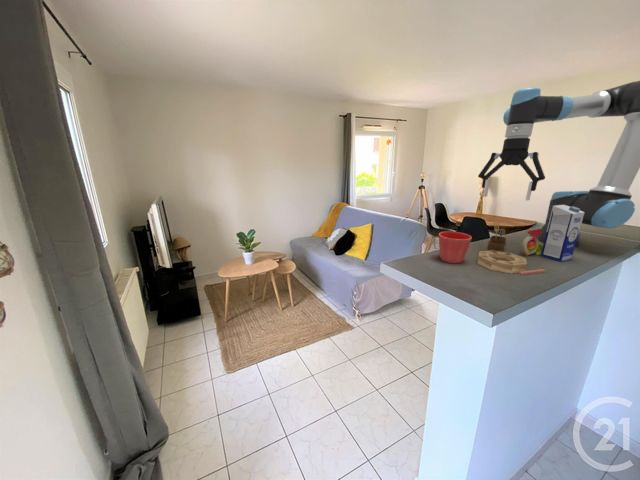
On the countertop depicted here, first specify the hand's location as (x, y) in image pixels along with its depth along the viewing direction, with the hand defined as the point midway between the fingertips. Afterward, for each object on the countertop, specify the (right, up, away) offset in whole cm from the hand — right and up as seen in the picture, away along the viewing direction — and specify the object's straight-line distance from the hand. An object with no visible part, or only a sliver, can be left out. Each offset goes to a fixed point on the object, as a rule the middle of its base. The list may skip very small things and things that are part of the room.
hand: (505, 198), depth 100 cm
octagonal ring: (-5, -25, -5) cm, 26 cm away
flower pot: (-20, -23, +1) cm, 31 cm away
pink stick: (+1, -27, -12) cm, 29 cm away
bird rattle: (+14, -22, +6) cm, 26 cm away
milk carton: (+21, -23, +2) cm, 31 cm away
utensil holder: (0, -22, +6) cm, 23 cm away
